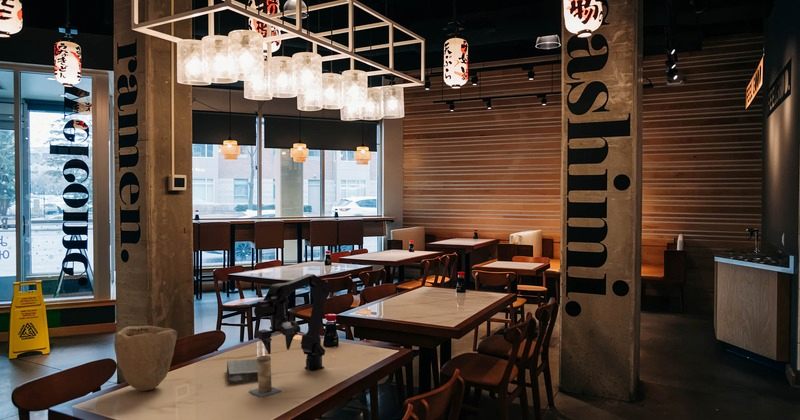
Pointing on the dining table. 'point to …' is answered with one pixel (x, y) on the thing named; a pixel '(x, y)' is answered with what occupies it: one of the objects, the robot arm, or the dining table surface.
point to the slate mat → (261, 395)
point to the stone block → (242, 371)
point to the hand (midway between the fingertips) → (278, 351)
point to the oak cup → (264, 374)
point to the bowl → (145, 354)
